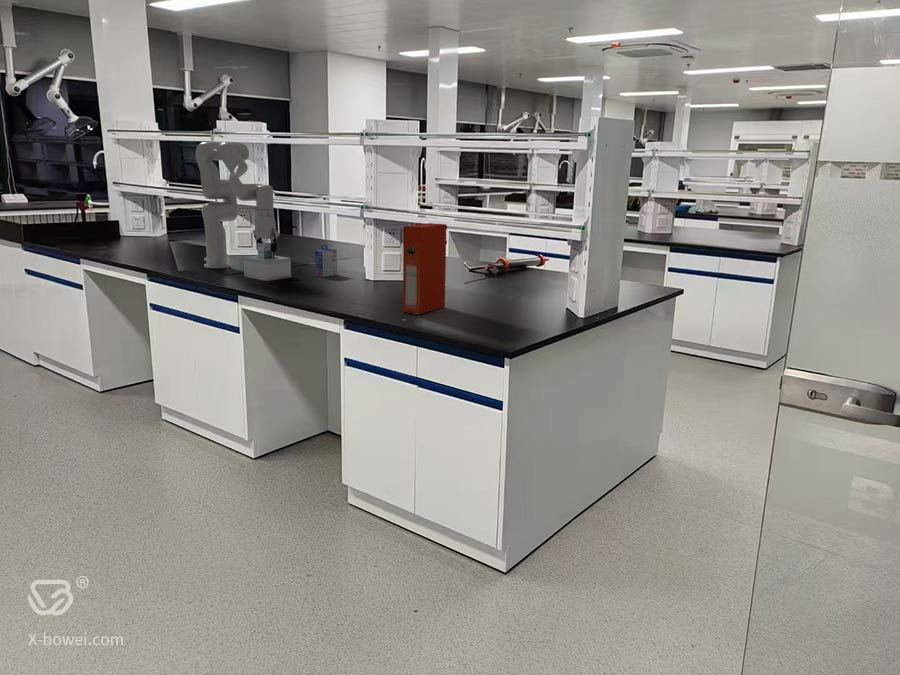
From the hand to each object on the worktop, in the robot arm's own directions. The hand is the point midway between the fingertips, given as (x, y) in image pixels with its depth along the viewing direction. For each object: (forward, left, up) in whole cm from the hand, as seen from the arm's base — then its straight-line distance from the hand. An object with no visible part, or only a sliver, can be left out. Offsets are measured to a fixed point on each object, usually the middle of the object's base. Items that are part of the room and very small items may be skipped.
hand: (266, 250), depth 314 cm
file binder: (+96, -6, -12) cm, 97 cm away
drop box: (0, 0, -12) cm, 12 cm away
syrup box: (0, 0, -11) cm, 11 cm away
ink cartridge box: (+16, +22, -13) cm, 30 cm away
